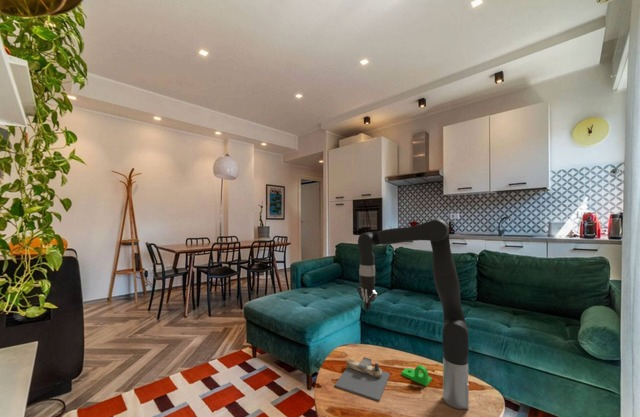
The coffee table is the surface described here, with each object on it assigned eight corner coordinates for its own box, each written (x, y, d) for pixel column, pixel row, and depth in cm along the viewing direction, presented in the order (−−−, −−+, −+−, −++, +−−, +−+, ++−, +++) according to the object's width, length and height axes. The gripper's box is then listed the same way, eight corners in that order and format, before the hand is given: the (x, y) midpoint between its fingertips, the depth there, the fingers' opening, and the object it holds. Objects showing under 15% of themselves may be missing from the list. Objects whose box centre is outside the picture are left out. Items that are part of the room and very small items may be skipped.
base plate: (389, 375, 127) (389, 373, 127) (379, 402, 110) (379, 399, 110) (350, 364, 136) (350, 362, 136) (334, 387, 119) (334, 385, 119)
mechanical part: (431, 381, 123) (431, 364, 123) (426, 388, 119) (426, 370, 119) (407, 370, 131) (407, 354, 131) (401, 376, 127) (401, 359, 127)
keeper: (371, 368, 131) (371, 358, 131) (367, 376, 125) (367, 366, 125) (363, 365, 133) (363, 356, 133) (358, 374, 127) (358, 364, 127)
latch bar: (382, 373, 126) (382, 363, 126) (379, 379, 122) (379, 368, 122) (349, 363, 135) (349, 353, 135) (345, 367, 131) (345, 357, 131)
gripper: (382, 275, 125) (382, 312, 125) (363, 270, 136) (363, 304, 136) (371, 277, 121) (371, 316, 121) (352, 272, 132) (352, 307, 132)
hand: (367, 309), depth 129 cm, fingers closed
